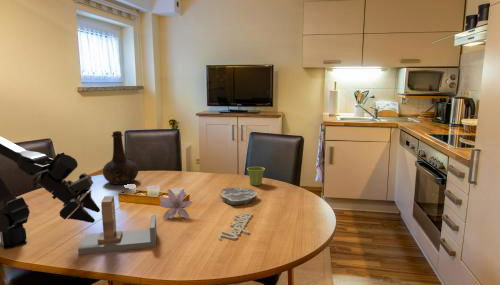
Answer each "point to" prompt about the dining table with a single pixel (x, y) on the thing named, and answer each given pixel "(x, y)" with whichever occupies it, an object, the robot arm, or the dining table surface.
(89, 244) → the grey l-shaped bracket
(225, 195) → the brain slice
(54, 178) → the robot arm
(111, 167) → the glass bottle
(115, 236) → the brown upright panelled block
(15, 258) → the dining table surface
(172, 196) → the water lily
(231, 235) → the decorative sign
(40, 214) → the dining table surface
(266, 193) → the dining table surface
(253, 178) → the plant pot
